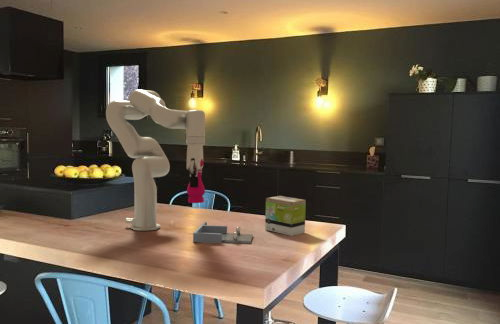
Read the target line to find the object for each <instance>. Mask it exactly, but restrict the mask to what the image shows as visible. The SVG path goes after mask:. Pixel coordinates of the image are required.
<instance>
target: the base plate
mask: <svg viewBox="0 0 500 324" xmlns="http://www.w3.org/2000/svg"><path fill="white" fill-rule="evenodd" d="M235 229H236V231H233V232H232V233H231V232H229V233H228V232H227V233H224V234H223V235H222V243H223V244H244V245H245V244H246V245H248V244H251V243H252V240H253V237H254V234H253V233H251V234H250V233H241V226H236V227H235ZM222 243H221V244H222Z"/></svg>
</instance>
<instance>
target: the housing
mask: <svg viewBox="0 0 500 324" xmlns="http://www.w3.org/2000/svg"><path fill="white" fill-rule="evenodd" d="M207 222H208V221H203V222H202V223H201V225H199V227H197V228H196V230H194V232H193V233H192V234H193V235H192V242H193V243H206V244H207V243H210V244H211V243H212V244H222V236H223V234H224V233H228V226H227V225H215V224H214V225H212V224H211V225H210V224H209V225H208V224H207Z"/></svg>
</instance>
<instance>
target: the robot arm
mask: <svg viewBox="0 0 500 324" xmlns="http://www.w3.org/2000/svg"><path fill="white" fill-rule="evenodd" d="M146 116H149V117H150V118H151V119H152V120H153V122H155V123H156V124H158V125H159V126H162V127H164V128H167V129H171V130H172V129H173V130H174V129H175V130H176V129H178V130H179V129H180V130H185V135H186V136H185V141H186V142H185V145H186V146H187V148H186V149H187V150H186V170H188V171H189V183H190V187H198V177H197V174H198V170H199V169H202V170H203V167H204V165H203V166H202V167H200V162H201V159H202V160H203V161H204V146H206V113H205V112H204V110H200V109H190V110H181V109H179V110H178V109H170V108H167V107H166V103H165V101H164V100H163V99H162V98H161V96H160V94H158V93H157V92H156V91H154V90H146V89H135V90H132V92H130V94H129V96H128V100H124V99H123V100H121V99H118V100H112V101H111V102H109V103H108V104H107V106H106V110H105V117H106V121H107V124H108V126H109V127H110V129H111V130H112V132H113V133H114V134H115V136H116V138H117V139H118V141H119V143H120V145H121V146H122V148H123V150H124V152H125V153H126V155H127V156H128V157H129V158H131V159H134V160H133V162H132V165H131V170H132V177H133V183H134V185H133V186H134V190H133V191H134V200H133V201H134V206H133V207H134V211H133V212H134V214H133V215H134V217H132V218H130V217H126V218H125V220H124V222H125V223H126V224H131V225H130V229H131V230H132V229H133V230H132V231H138V232H146V231H147V232H148V231H156V230H158V229H160V228H161V224H160V223H157V217H158V215H157V213H158V212H157V211H158V210H157V206H158V205H157V204H158V201H157V200H158V199H157V198H158V196H157V194H158V192H157V191H158V186H157V185H156V181H155V179H154V178H161V177H165V176H167V174H168V173H169V172H170V168H171V167H170V162H169V159H168V157H167V155H166V154H165V152H164V150H163V148H162V147H161V145H160V144H159V142H158V141H157V140H156V139H155V138H152V137H150V136H141V135H140V134H138V131H136V129H135V127H134V126H133V124H131V123H130V122H129V121H130V120H131V121H132V120H133V121H137V120H141V119H143V118H145V117H146ZM127 120H129V121H127ZM194 168H196V169H194ZM195 171H196V173H195ZM202 173H203V171H202V172H201V180H203V176H202Z"/></svg>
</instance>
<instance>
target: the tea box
mask: <svg viewBox="0 0 500 324" xmlns="http://www.w3.org/2000/svg"><path fill="white" fill-rule="evenodd" d="M306 202H307V201H306V199H302V198H297V197H289V196H283V195H277V196H271V197H266V198H265V217H264V219H265V222H264V223H265V225H264V226H265V228H264V229H265V231H270V232H274V233H279V234H281V235H286V236H290V237H292V236H293V237H294V236H297V235H300V234H304V233H306V206H307V205H306Z"/></svg>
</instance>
